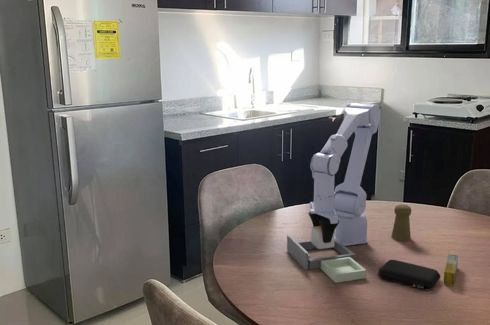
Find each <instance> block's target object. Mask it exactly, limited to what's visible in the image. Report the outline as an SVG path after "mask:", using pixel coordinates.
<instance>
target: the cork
mask: <svg viewBox="0 0 490 325" xmlns="http://www.w3.org/2000/svg"><path fill="white" fill-rule="evenodd" d="M393 211H394V215H395V217H394V222H393V228H392V231H391V236H390V237H391V239H392V240H394V241H398V242H408V241H411V239H412V237H411V224H410V216H411V214H412V208H411V206H409V205H408V204H403V203H402V204H397V205H396V206H394V210H393Z"/></svg>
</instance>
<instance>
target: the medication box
mask: <svg viewBox="0 0 490 325" xmlns="http://www.w3.org/2000/svg"><path fill="white" fill-rule="evenodd" d="M458 260H459V256H458V255H455V254H447V258H446V262H445V266H444V267H445V269H444V273H443V274H444V275H443V284H444V285H445V286H450V287H455V285H456V280H457V276H458V275H457V274H458V266H459V265H458V263H459V262H458Z"/></svg>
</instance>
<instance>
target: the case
mask: <svg viewBox="0 0 490 325" xmlns="http://www.w3.org/2000/svg"><path fill="white" fill-rule="evenodd" d="M286 243H287V244H286V251H287V252H288V254H290V256H292V257H293V259H294V260H295V261H296V262H297V263H298V264H299V265H300V266H301V267H302V268H303V269H304V270H305V271H306V270H314V269H321V261H324V260H331V259H338V258H345V257H351V258H352V259H353V260H354V261H356V254H355V253H354V252H353V251H352V250H350V249H349V248H347V246H344V245H343V244H341V243H340V242H339V241H337V240H336V239H335V238H334V247H332V248H333V249H334V250H335V251H337V252H338V253H339V254H340V255H331V256H324V257H317V258H312V257H311V255H310V254H309V252H308V251H307V250H312V249H318V248H317V247H316V246H314V245H313V244H312V243H311V239H308V240H300V241H297V240H296V239H295V238H294V237H293V236H292V235H291V234H287V235H286Z"/></svg>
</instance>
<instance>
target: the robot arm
mask: <svg viewBox="0 0 490 325" xmlns="http://www.w3.org/2000/svg"><path fill="white" fill-rule="evenodd" d="M343 110H344V111H343V120H342V122H341V124H340V126H339V128H338V130H337V132H336V133H335V134H331V135H330V136H329V138H328V140H327V142H326V143H325V145H324V146H323V147H322V149H321V150H320V152H317V153H315V154H313V156H312V157H311V160H310V165H309V166H310V170H311V175H312V176H311V177H312V179H313V201H310V202H309V204H310V206H309V209H310V210H309V211H308V212H307V213H308V216H309V218H310V220H311V223H312V227H315V226H321V229H322V237H323V242H324V243H329V242H331V240H332V236H333V233H334V231H335V237H334V238H335V239H336V240H337V241H339V242H340V243H341V244H343V245H344V246H345V247H347V246H354V245H363V244H368V243H369V241H368V240H367V238H368V235H367V234H368V219H367V216H366V214H365V211H366V207H367V193H366V191H365V190H364V189H363V188H362V186H361V184H362V177H363V173H364V170H365V165H366V161H367V157H368V154H369V149H370V145H371V140H372V136H373V135H374V134H375V133H377V132H378V129H379V123H380V121H381V109H380V107H379V105H378V104H376V103H374V104H373V103H372V104H371V103H370V104H369V103H354V102H348V103H347V104H346V105H345V107H344V109H343ZM353 133H354V135H355V137H354V140H353V143H352V148H351V153H350V156H349V161H348V164H347V169H346V173H345V175H344V180H343V182H342V183H340V184H338V185H336V186H335V174H337V172H338V171H339V167H340V164H341V157H342V156H343V155H344V153H345V151H346V150H347V148H348V140H349V138H350V137H351V136H352V135H353Z"/></svg>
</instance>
